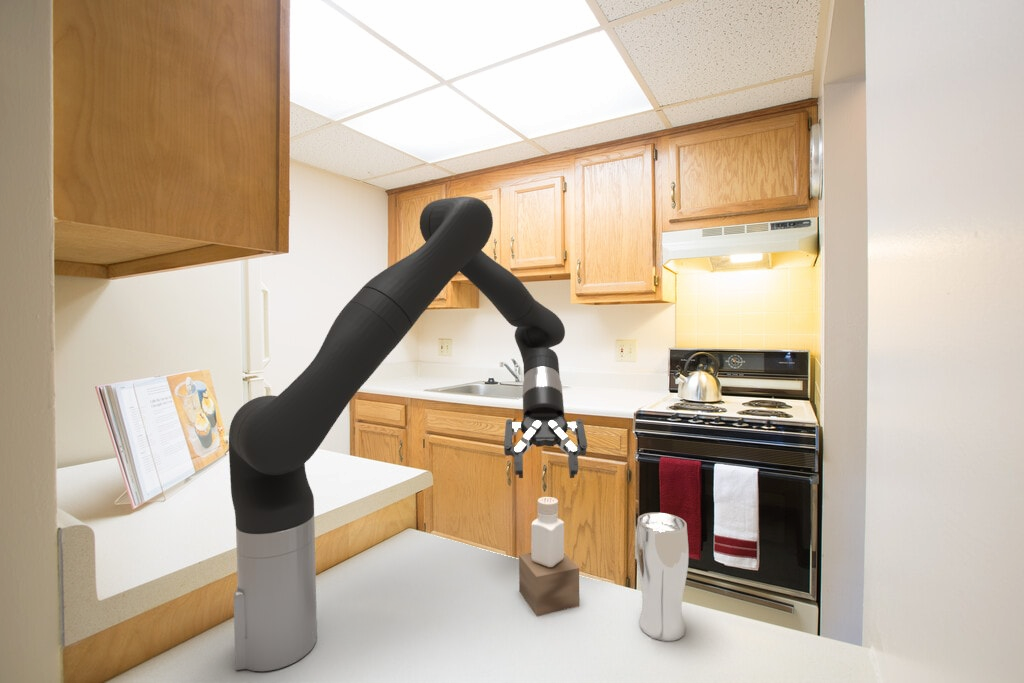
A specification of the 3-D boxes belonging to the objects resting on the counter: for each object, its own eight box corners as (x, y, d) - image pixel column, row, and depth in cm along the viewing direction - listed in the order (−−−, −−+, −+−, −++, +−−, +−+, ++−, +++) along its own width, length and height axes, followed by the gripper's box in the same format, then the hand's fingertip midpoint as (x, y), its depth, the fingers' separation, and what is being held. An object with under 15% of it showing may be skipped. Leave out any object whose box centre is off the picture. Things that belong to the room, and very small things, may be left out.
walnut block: (536, 617, 69) (536, 576, 69) (519, 592, 76) (519, 555, 75) (579, 607, 72) (579, 568, 71) (558, 583, 78) (558, 547, 78)
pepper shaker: (551, 570, 71) (551, 507, 70) (529, 561, 73) (529, 501, 73) (565, 559, 74) (565, 499, 74) (544, 552, 76) (544, 493, 76)
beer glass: (681, 613, 69) (681, 512, 69) (694, 645, 62) (694, 533, 62) (632, 611, 70) (632, 511, 70) (640, 642, 63) (640, 531, 63)
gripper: (504, 384, 87) (503, 465, 76) (582, 384, 87) (592, 464, 76) (505, 408, 92) (504, 486, 81) (578, 407, 92) (587, 486, 81)
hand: (546, 476), depth 78 cm, fingers open, 8 cm apart
